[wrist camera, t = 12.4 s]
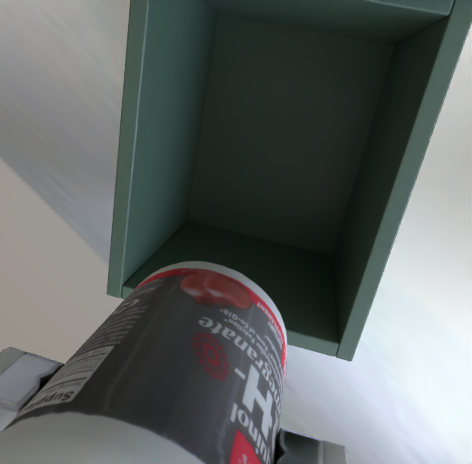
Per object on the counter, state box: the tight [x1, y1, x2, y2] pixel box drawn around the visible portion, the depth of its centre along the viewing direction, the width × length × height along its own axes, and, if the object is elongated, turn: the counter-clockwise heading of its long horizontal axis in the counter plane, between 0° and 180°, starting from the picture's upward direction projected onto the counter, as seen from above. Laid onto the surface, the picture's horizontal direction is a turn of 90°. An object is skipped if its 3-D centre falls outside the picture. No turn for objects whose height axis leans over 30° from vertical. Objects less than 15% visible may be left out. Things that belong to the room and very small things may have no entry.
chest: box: [107, 0, 472, 361], centre depth 23 cm, size 16×13×12 cm
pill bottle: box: [0, 261, 287, 464], centre depth 9 cm, size 5×5×10 cm
